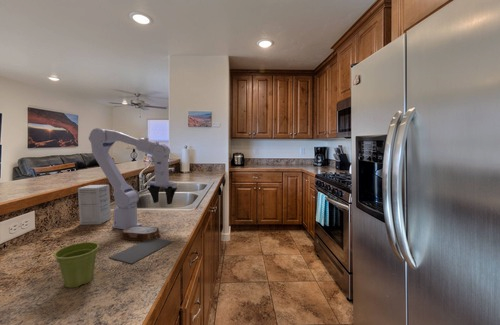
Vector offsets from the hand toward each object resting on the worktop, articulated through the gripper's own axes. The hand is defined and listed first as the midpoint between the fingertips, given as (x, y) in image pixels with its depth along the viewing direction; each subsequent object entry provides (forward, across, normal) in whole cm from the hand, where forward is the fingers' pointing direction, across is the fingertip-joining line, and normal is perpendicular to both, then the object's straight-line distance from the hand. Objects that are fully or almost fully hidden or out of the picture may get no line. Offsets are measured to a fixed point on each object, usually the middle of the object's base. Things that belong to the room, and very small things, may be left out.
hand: (162, 203), depth 105 cm
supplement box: (+10, +34, +7) cm, 36 cm away
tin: (+9, -1, +17) cm, 19 cm away
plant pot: (+11, -11, +42) cm, 45 cm away
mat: (+10, -11, +21) cm, 26 cm away
